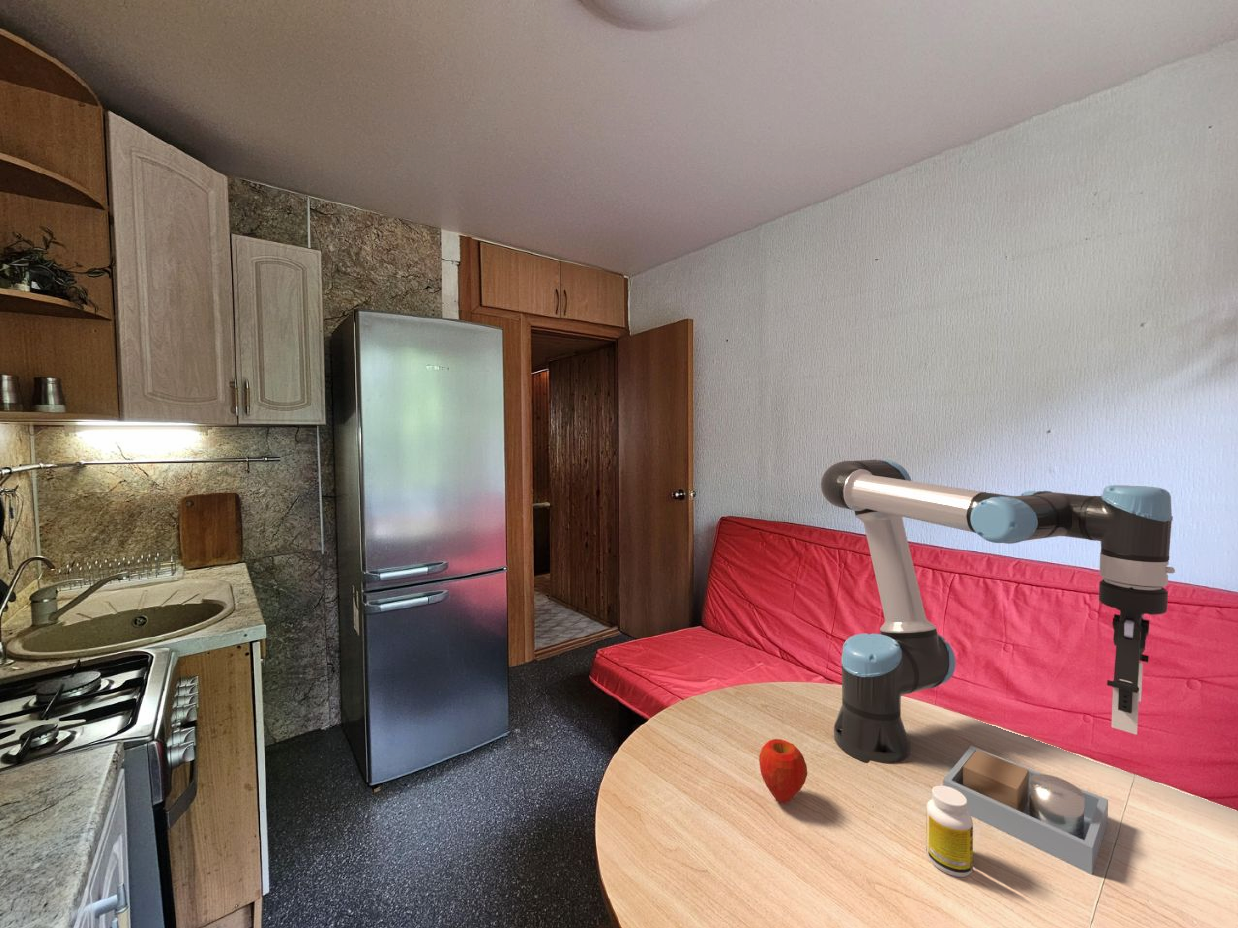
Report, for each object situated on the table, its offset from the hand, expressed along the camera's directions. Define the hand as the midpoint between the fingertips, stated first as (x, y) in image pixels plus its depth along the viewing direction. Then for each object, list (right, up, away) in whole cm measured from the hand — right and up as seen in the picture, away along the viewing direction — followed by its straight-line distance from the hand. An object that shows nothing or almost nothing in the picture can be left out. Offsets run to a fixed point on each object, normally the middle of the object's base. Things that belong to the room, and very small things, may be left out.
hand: (1126, 713), depth 79 cm
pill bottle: (-29, -24, 0) cm, 38 cm away
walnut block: (-12, -22, +12) cm, 28 cm away
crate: (-9, -23, +9) cm, 27 cm away
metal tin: (-7, -22, +6) cm, 24 cm away
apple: (-51, -24, +14) cm, 58 cm away
